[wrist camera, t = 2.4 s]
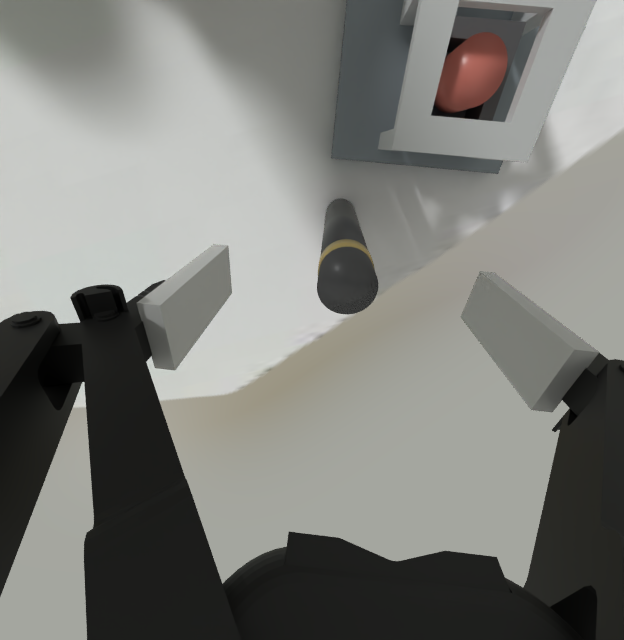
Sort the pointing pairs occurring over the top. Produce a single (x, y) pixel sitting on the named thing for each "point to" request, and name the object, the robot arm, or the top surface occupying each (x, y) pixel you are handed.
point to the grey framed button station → (425, 71)
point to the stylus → (345, 262)
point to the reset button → (471, 73)
